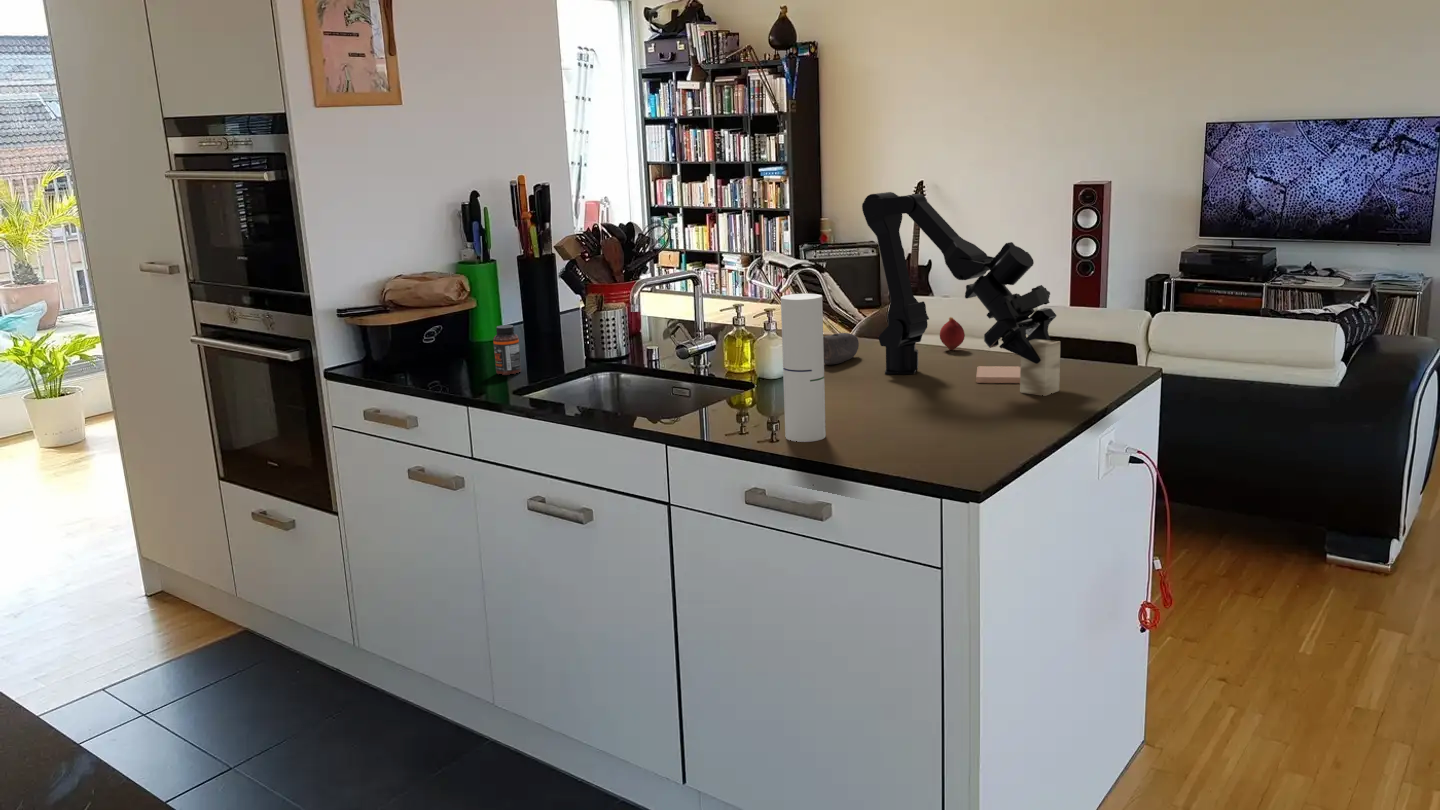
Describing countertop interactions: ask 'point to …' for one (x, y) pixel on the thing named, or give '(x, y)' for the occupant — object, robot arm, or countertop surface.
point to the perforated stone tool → (839, 347)
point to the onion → (952, 334)
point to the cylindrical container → (803, 367)
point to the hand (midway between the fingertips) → (1046, 359)
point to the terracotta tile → (998, 374)
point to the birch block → (1041, 369)
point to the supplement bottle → (506, 350)
